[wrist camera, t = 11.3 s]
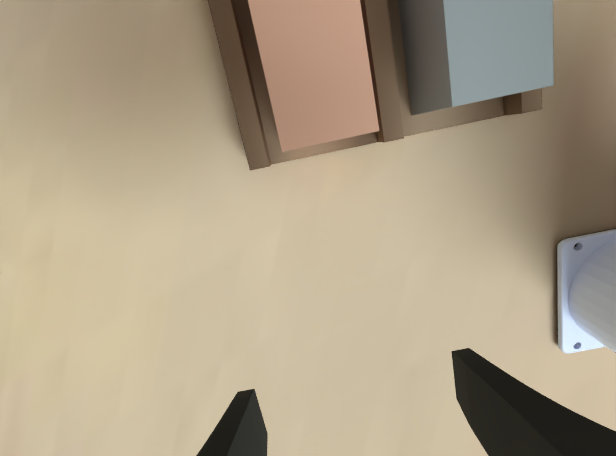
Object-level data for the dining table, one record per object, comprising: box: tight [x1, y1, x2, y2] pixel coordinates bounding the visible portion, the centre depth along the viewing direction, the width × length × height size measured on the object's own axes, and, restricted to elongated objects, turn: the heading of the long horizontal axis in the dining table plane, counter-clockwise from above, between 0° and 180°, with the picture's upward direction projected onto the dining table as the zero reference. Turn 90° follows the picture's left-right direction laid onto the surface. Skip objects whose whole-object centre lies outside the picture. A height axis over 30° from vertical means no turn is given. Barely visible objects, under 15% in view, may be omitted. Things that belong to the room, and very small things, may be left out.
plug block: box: [248, 0, 379, 152], centre depth 15 cm, size 4×8×5 cm, turn 12°
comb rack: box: [208, 0, 542, 170], centre depth 17 cm, size 15×10×2 cm, turn 102°
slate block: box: [398, 0, 554, 116], centre depth 14 cm, size 4×8×5 cm, turn 12°
